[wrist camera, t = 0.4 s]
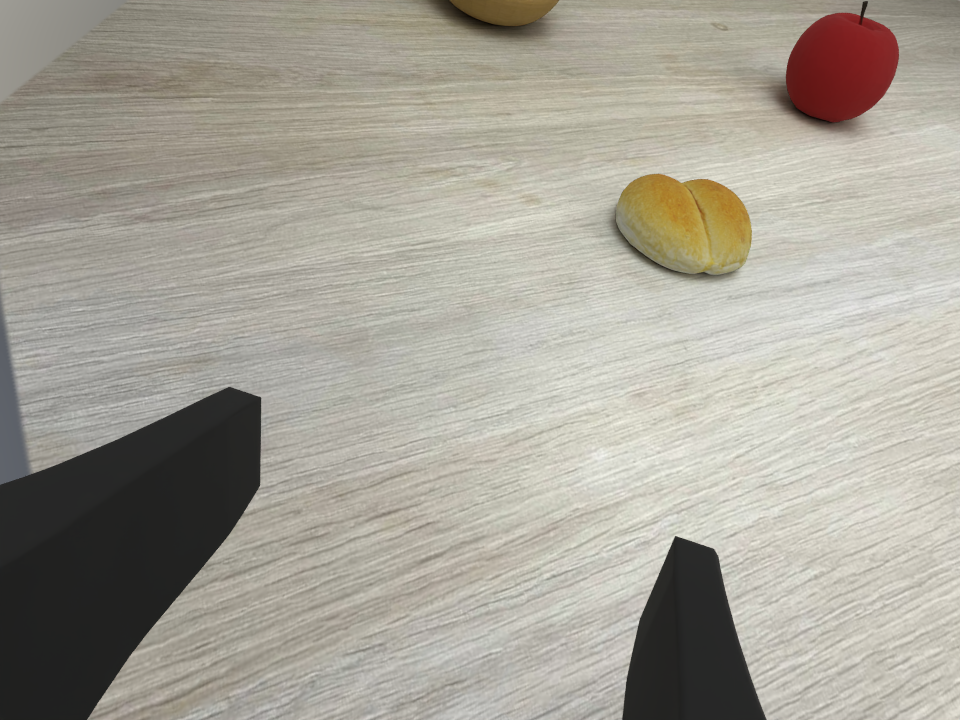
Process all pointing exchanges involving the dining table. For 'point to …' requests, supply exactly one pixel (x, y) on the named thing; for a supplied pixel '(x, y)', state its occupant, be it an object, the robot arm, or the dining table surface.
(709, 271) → the bread roll
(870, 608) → the dining table surface
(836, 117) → the apple
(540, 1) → the pot
